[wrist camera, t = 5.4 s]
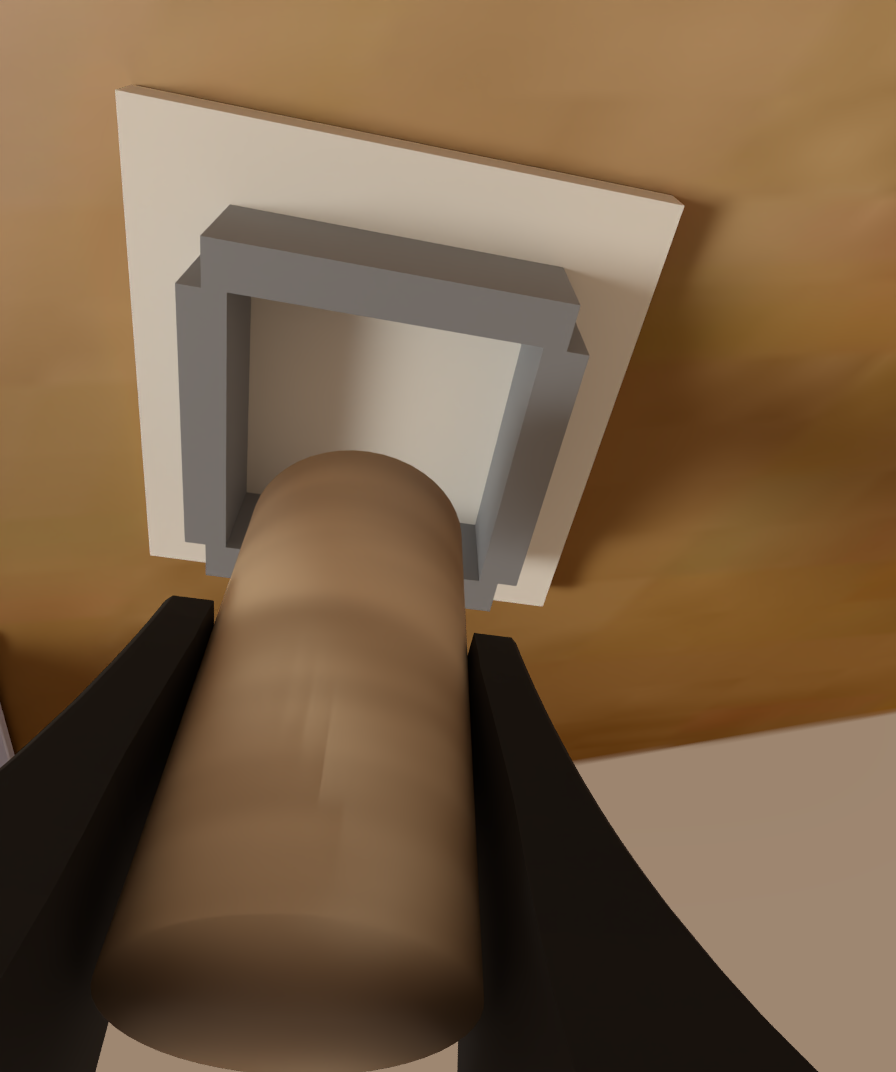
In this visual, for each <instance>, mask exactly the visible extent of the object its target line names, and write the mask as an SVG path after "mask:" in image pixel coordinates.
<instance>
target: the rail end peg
mask: <svg viewBox="0 0 896 1072" xmlns="http://www.w3.org/2000/svg"><path fill="white" fill-rule="evenodd" d="M90 987H91V995H92V998H93V1001H94V1003H95V1005H96V1007H97V1009H98V1010H99V1011H100V1013H101V1014H102V1015H103V1016H104V1018H105V1019H107V1020H108V1021H109V1022H110V1023H111V1024H112V1025H113V1026H114V1027H116V1028H117V1029H119V1030H120V1031H121V1032H123V1033H124V1034H126V1035H127V1036H129V1037H131V1038H133V1039H134V1040H136V1041H138V1042H140V1043H142V1044H144V1045H146V1046H149V1047H151V1048H153V1049H156V1050H158V1051H160V1052H163V1053H166V1054H169V1055H172V1056H175V1057H178V1058H182V1059H185V1060H188V1061H192V1062H196V1063H200V1064H205V1065H209V1066H213V1067H218V1068H225V1069H231V1070H236V1071H243V1072H366V1071H373V1070H378V1069H384V1068H389V1067H393V1066H397V1065H401V1064H406V1063H409V1062H412V1061H415V1060H419V1059H422V1058H425V1057H427V1056H430V1055H432V1054H435V1053H437V1052H440V1051H442V1050H443V1049H445V1048H447V1047H449V1046H451V1045H453V1044H454V1043H456V1042H457V1041H459V1040H460V1039H462V1038H463V1037H464V1036H466V1035H467V1034H468V1033H469V1032H470V1031H471V1030H472V1029H473V1028H474V1027H475V1025H476V1023H477V1022H478V1020H479V1019H480V1017H481V1014H482V1011H483V1008H484V991H483V970H482V950H481V929H480V908H479V887H478V867H477V846H476V825H475V804H474V783H473V763H472V742H471V721H470V700H469V680H468V659H467V638H466V617H465V597H464V576H463V555H462V534H461V528H460V522H459V519H458V516H457V513H456V511H455V509H454V507H453V505H452V503H451V501H450V500H449V498H448V497H447V496H446V494H445V493H444V491H443V490H442V489H441V488H440V487H439V486H438V485H437V484H436V483H435V482H434V481H433V480H432V479H431V478H429V477H428V476H427V475H425V474H424V473H423V472H421V471H420V470H418V469H416V468H415V467H413V466H411V465H410V464H407V463H405V462H403V461H401V460H398V459H396V458H393V457H390V456H386V455H383V454H378V453H373V452H368V451H356V450H345V451H333V452H326V453H322V454H318V455H314V456H310V457H308V458H306V459H303V460H301V461H298V462H296V463H295V464H293V465H291V466H289V467H288V468H286V469H285V470H283V471H282V472H281V473H279V474H278V475H277V476H276V477H275V478H274V479H273V480H272V481H271V482H270V483H269V484H268V485H267V486H266V488H265V489H264V491H263V492H262V494H261V495H260V497H259V499H258V501H257V504H256V506H255V509H254V511H253V514H252V517H251V520H250V523H249V526H248V529H247V532H246V535H245V537H244V540H243V543H242V546H241V549H240V552H239V555H238V558H237V560H236V563H235V566H234V569H233V572H232V575H231V578H230V581H229V583H228V586H227V589H226V592H225V595H224V598H223V601H222V604H221V607H220V609H219V612H218V615H217V618H216V621H215V624H214V627H213V630H212V632H211V635H210V638H209V641H208V644H207V647H206V650H205V653H204V656H203V658H202V661H201V664H200V667H199V670H198V673H197V676H196V679H195V681H194V684H193V687H192V690H191V693H190V696H189V699H188V702H187V705H186V707H185V710H184V713H183V716H182V719H181V722H180V725H179V728H178V730H177V733H176V736H175V739H174V742H173V745H172V748H171V751H170V754H169V756H168V759H167V762H166V765H165V768H164V771H163V774H162V777H161V779H160V782H159V785H158V788H157V791H156V794H155V797H154V800H153V802H152V805H151V808H150V811H149V814H148V817H147V820H146V823H145V826H144V828H143V831H142V834H141V837H140V840H139V843H138V846H137V849H136V851H135V854H134V857H133V860H132V863H131V866H130V869H129V872H128V875H127V877H126V880H125V883H124V886H123V889H122V892H121V895H120V898H119V900H118V903H117V906H116V909H115V912H114V915H113V918H112V921H111V924H110V926H109V929H108V932H107V935H106V938H105V941H104V944H103V947H102V949H101V952H100V955H99V958H98V961H97V964H96V967H95V970H94V973H93V976H92V980H91V985H90Z"/></svg>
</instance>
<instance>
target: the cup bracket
mask: <svg viewBox="0 0 896 1072" xmlns="http://www.w3.org/2000/svg"><path fill="white" fill-rule="evenodd" d="M115 94H116V108H117V121H118V134H119V148H120V161H121V174H122V187H123V201H124V214H125V227H126V240H127V254H128V267H129V280H130V294H131V307H132V320H133V333H134V347H135V360H136V373H137V386H138V400H139V413H140V426H141V440H142V453H143V466H144V479H145V493H146V506H147V519H148V533H149V546H150V555H153V556H160V557H168V558H176V559H183V560H191V561H199V562H206V575H211V576H219V577H226V578H231V575H232V572H233V569H234V566H235V563H236V560H237V558H238V555H239V552H240V549H241V546H242V543H243V540H244V537H245V535H246V532H247V529H248V526H249V523H250V520H251V517H252V514H253V511H254V509H255V506H256V504H257V501H258V499H259V497H260V495H261V494H262V492H263V491H264V489H265V488H266V486H267V485H268V484H269V483H270V482H271V481H272V480H273V479H274V478H275V477H276V476H277V475H278V474H279V473H281V472H282V471H283V470H285V469H286V468H288V467H289V466H291V465H293V464H295V463H296V462H298V461H301V460H303V459H306V458H308V457H310V456H314V455H318V454H322V453H326V452H333V451H345V450H356V451H368V452H373V453H378V454H383V455H386V456H390V457H393V458H396V459H398V460H401V461H403V462H405V463H407V464H410V465H411V466H413V467H415V468H416V469H418V470H420V471H421V472H423V473H424V474H425V475H427V476H428V477H429V478H431V479H432V480H433V481H434V482H435V483H436V484H437V485H438V486H439V487H440V488H441V489H442V490H443V491H444V493H445V494H446V496H447V497H448V498H449V500H450V501H451V503H452V505H453V507H454V509H455V511H456V513H457V516H458V519H459V522H460V528H461V534H462V555H463V576H464V597H465V608H467V609H475V610H483V611H490V608H491V605H492V602H493V600H497V601H505V602H512V603H520V604H528V605H535V606H543V604H544V601H545V598H546V595H547V592H548V590H549V587H550V584H551V581H552V578H553V576H554V573H555V570H556V567H557V564H558V561H559V559H560V556H561V553H562V550H563V547H564V544H565V542H566V539H567V536H568V533H569V530H570V528H571V525H572V522H573V519H574V516H575V513H576V511H577V508H578V505H579V502H580V499H581V497H582V494H583V491H584V488H585V485H586V482H587V480H588V477H589V474H590V471H591V468H592V466H593V463H594V460H595V457H596V454H597V451H598V449H599V446H600V443H601V440H602V437H603V434H604V432H605V429H606V426H607V423H608V420H609V418H610V415H611V412H612V409H613V406H614V403H615V401H616V398H617V395H618V392H619V389H620V387H621V384H622V381H623V378H624V375H625V372H626V370H627V367H628V364H629V361H630V358H631V355H632V353H633V350H634V347H635V344H636V341H637V339H638V336H639V333H640V330H641V327H642V324H643V322H644V319H645V316H646V313H647V310H648V308H649V305H650V302H651V299H652V296H653V293H654V291H655V288H656V285H657V282H658V279H659V276H660V274H661V271H662V268H663V265H664V262H665V260H666V257H667V254H668V251H669V248H670V245H671V243H672V240H673V237H674V234H675V231H676V229H677V226H678V223H679V220H680V217H681V214H682V212H683V209H684V205H683V204H682V203H681V202H680V201H678V200H677V199H676V198H675V197H674V196H673V195H668V194H663V193H659V192H654V191H649V190H644V189H639V188H634V187H629V186H624V185H620V184H615V183H610V182H605V181H600V180H595V179H590V178H585V177H581V176H576V175H571V174H566V173H561V172H556V171H551V170H546V169H542V168H537V167H532V166H527V165H522V164H517V163H512V162H507V161H503V160H498V159H493V158H488V157H483V156H478V155H473V154H468V153H464V152H459V151H454V150H449V149H444V148H439V147H434V146H429V145H425V144H420V143H415V142H410V141H405V140H400V139H395V138H390V137H386V136H381V135H376V134H371V133H366V132H361V131H356V130H352V129H347V128H342V127H337V126H332V125H327V124H322V123H317V122H313V121H308V120H303V119H298V118H293V117H288V116H283V115H278V114H274V113H269V112H264V111H259V110H254V109H249V108H244V107H239V106H235V105H230V104H225V103H220V102H215V101H210V100H205V99H200V98H196V97H191V96H186V95H181V94H176V93H171V92H166V91H161V90H157V89H152V88H147V87H142V86H137V85H129V86H125V87H122V88H119V89H116V90H115Z"/></svg>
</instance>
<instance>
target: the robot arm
mask: <svg viewBox="0 0 896 1072" xmlns="http://www.w3.org/2000/svg"><path fill="white" fill-rule="evenodd" d="M213 627H214V601H212V600H204V599H196V598H188V597H180V596H172V597H170V598H168V599H167V600H165V602H164V603H163V604H162V605H161V606H160V608H159V609H158V610H157V611H156V613H155V614H154V615H153V616H152V617H151V618H150V620H149V621H148V622H147V623H146V624H145V626H144V627H143V628H142V629H141V630H140V631H139V632H138V634H137V635H136V636H135V637H134V638H133V639H132V640H131V641H130V643H129V644H128V645H127V646H126V647H125V648H124V649H123V650H122V651H121V652H120V653H119V655H118V656H117V657H116V658H115V659H114V660H113V661H112V662H111V663H110V664H109V665H108V666H107V667H106V668H105V669H104V670H103V671H102V672H101V673H100V674H99V676H98V677H97V678H96V679H95V680H94V681H93V682H92V683H91V684H90V685H89V686H88V687H87V688H86V689H85V690H84V691H83V692H82V693H81V694H80V695H79V696H78V697H77V698H76V699H75V700H74V701H73V702H72V703H71V704H70V705H69V706H68V707H67V708H66V709H65V710H64V711H62V712H61V713H60V714H59V715H58V716H57V717H56V718H55V719H54V720H53V721H52V722H51V723H50V724H48V725H47V726H46V727H45V728H44V729H43V730H42V731H41V732H40V733H39V734H38V735H37V736H35V737H34V738H33V739H32V740H31V741H30V742H29V743H28V744H27V745H26V746H25V747H24V748H22V749H21V750H20V751H19V752H18V753H17V754H16V755H14V751H13V747H12V744H11V740H10V737H9V733H8V729H7V726H6V722H5V718H4V715H3V711H2V707H1V704H0V1072H95V1071H96V1067H97V1063H98V1060H99V1056H100V1052H101V1048H102V1044H103V1041H104V1037H105V1033H106V1030H107V1026H108V1022H109V1021H108V1020H107V1019H105V1018H104V1016H103V1015H102V1014H101V1013H100V1011H99V1010H98V1009H97V1007H96V1005H95V1003H94V1001H93V998H92V995H91V987H90V985H91V980H92V976H93V973H94V970H95V967H96V964H97V961H98V958H99V955H100V952H101V949H102V947H103V944H104V941H105V938H106V935H107V932H108V929H109V926H110V924H111V921H112V918H113V915H114V912H115V909H116V906H117V903H118V900H119V898H120V895H121V892H122V889H123V886H124V883H125V880H126V877H127V875H128V872H129V869H130V866H131V863H132V860H133V857H134V854H135V851H136V849H137V846H138V843H139V840H140V837H141V834H142V831H143V828H144V826H145V823H146V820H147V817H148V814H149V811H150V808H151V805H152V802H153V800H154V797H155V794H156V791H157V788H158V785H159V782H160V779H161V777H162V774H163V771H164V768H165V765H166V762H167V759H168V756H169V754H170V751H171V748H172V745H173V742H174V739H175V736H176V733H177V730H178V728H179V725H180V722H181V719H182V716H183V713H184V710H185V707H186V705H187V702H188V699H189V696H190V693H191V690H192V687H193V684H194V681H195V679H196V676H197V673H198V670H199V667H200V664H201V661H202V658H203V656H204V653H205V650H206V647H207V644H208V641H209V638H210V635H211V632H212V630H213ZM467 659H468V680H469V700H470V721H471V742H472V763H473V783H474V804H475V825H476V846H477V867H478V887H479V908H480V929H481V950H482V970H483V991H484V1008H483V1011H482V1014H481V1017H480V1019H479V1020H478V1022H477V1023H476V1025H475V1027H474V1028H473V1029H472V1030H471V1031H470V1032H469V1033H468V1034H467V1035H466V1036H464V1037H463V1038H462V1039H460V1040H459V1041H458V1072H818V1071H817V1070H816V1069H815V1068H814V1067H813V1066H812V1065H811V1064H810V1063H809V1062H808V1061H807V1060H806V1059H805V1058H804V1057H803V1056H802V1055H801V1054H800V1053H799V1052H798V1051H797V1050H796V1049H795V1048H794V1047H793V1046H792V1045H791V1044H790V1043H789V1042H788V1041H787V1040H786V1039H785V1038H784V1037H783V1036H782V1035H781V1034H780V1033H779V1032H778V1031H777V1030H776V1029H775V1028H774V1027H773V1026H772V1025H771V1024H770V1023H769V1022H768V1021H767V1020H766V1019H765V1018H764V1017H763V1016H762V1015H761V1014H760V1013H759V1012H758V1010H757V1009H756V1008H755V1007H754V1006H753V1005H752V1004H751V1003H750V1001H749V1000H748V999H747V998H746V997H745V996H744V995H743V994H742V993H741V991H740V990H739V989H738V988H737V987H736V986H735V985H734V984H733V983H732V982H731V980H730V979H729V978H728V977H727V976H726V975H725V974H724V973H723V971H722V970H721V969H720V968H719V967H718V966H717V964H716V963H715V962H714V961H713V960H712V958H711V957H710V956H709V955H708V953H707V952H706V951H705V950H704V949H703V948H702V946H701V945H700V944H699V943H698V941H697V940H696V939H695V938H694V937H693V935H692V934H691V933H690V932H689V931H688V929H687V928H686V927H685V926H684V925H683V923H682V922H681V921H680V920H679V918H678V917H677V916H676V915H675V914H674V912H673V911H672V910H671V909H670V907H669V906H668V905H667V904H666V902H665V901H664V900H663V898H662V897H661V896H660V894H659V893H658V892H657V890H656V889H655V887H654V886H653V885H652V884H651V882H650V881H649V879H648V878H647V877H646V875H645V874H644V873H643V871H642V870H641V869H640V867H639V866H638V864H637V863H636V861H635V860H634V859H633V858H632V856H631V854H630V853H629V851H628V850H627V849H626V847H625V846H624V844H623V843H622V841H621V840H620V838H619V837H618V835H617V834H616V833H615V831H614V829H613V828H612V826H611V825H610V823H609V822H608V820H607V819H606V817H605V815H604V814H603V812H602V811H601V809H600V807H599V806H598V804H597V803H596V801H595V799H594V798H593V796H592V794H591V793H590V791H589V789H588V788H587V786H586V784H585V783H584V781H583V779H582V777H581V776H580V774H579V772H578V770H577V769H576V767H575V765H574V763H573V762H572V760H571V758H570V756H569V754H568V752H567V750H566V748H565V747H564V745H563V743H562V741H561V739H560V737H559V735H558V733H557V732H556V730H555V728H554V726H553V724H552V722H551V720H550V718H549V716H548V714H547V712H546V710H545V708H544V706H543V704H542V701H541V699H540V697H539V695H538V693H537V691H536V689H535V687H534V684H533V682H532V680H531V678H530V676H529V673H528V671H527V669H526V666H525V664H524V662H523V659H522V657H521V655H520V652H519V650H518V647H517V645H516V643H515V642H514V640H513V639H512V638H509V637H501V636H493V635H485V634H477V633H474V635H473V639H472V642H471V646H470V649H469V653H468V656H467Z"/></svg>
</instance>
